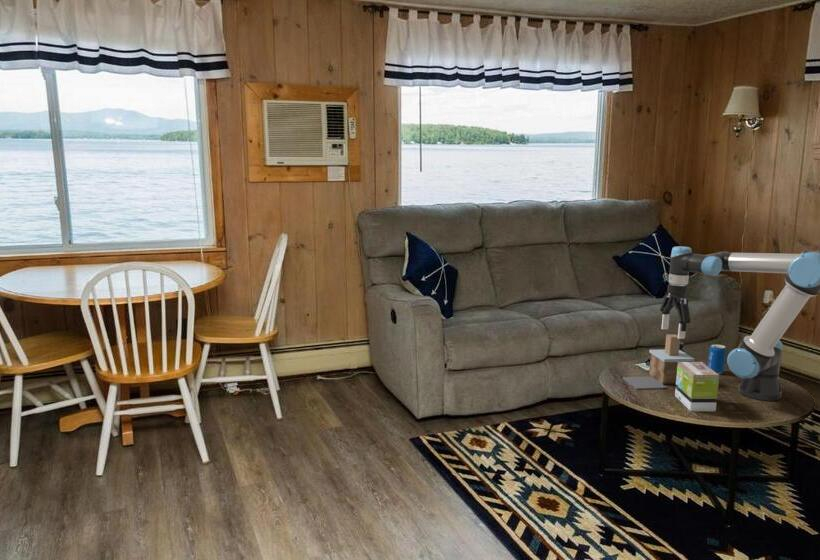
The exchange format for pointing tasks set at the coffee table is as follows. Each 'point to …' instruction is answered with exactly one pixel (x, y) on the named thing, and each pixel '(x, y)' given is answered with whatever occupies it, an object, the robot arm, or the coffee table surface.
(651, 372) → the box
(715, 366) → the beverage can
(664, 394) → the coffee table surface
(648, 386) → the mat
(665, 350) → the lid
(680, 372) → the tea box
